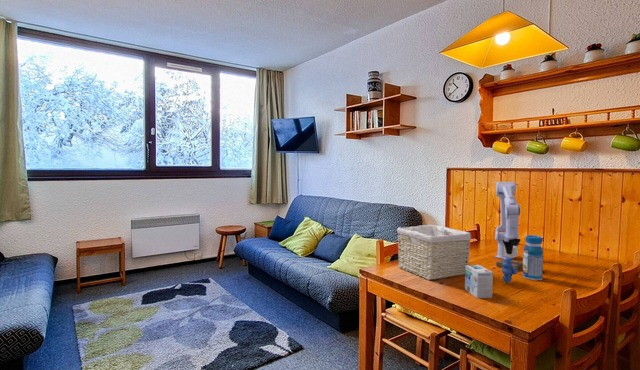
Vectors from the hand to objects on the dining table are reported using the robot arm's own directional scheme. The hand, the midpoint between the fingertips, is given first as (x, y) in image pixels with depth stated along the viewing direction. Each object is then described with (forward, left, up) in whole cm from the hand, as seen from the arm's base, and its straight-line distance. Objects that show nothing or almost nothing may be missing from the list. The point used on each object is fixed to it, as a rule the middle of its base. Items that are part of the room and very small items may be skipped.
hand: (511, 253), depth 186 cm
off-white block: (0, 0, -2) cm, 2 cm away
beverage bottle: (+9, +15, -8) cm, 19 cm away
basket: (+39, -19, -8) cm, 44 cm away
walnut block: (0, 0, -8) cm, 8 cm away
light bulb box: (+49, +12, -8) cm, 51 cm away
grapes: (+26, +13, -8) cm, 30 cm away
